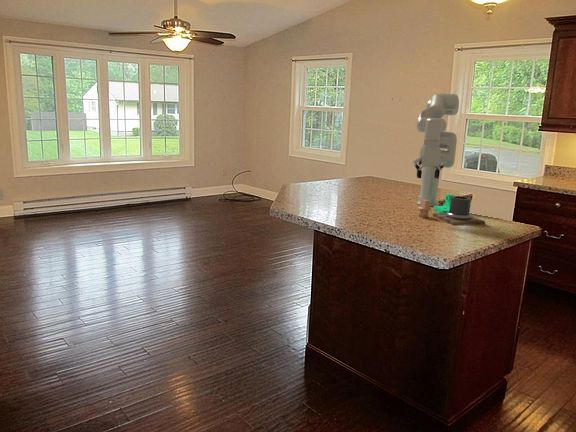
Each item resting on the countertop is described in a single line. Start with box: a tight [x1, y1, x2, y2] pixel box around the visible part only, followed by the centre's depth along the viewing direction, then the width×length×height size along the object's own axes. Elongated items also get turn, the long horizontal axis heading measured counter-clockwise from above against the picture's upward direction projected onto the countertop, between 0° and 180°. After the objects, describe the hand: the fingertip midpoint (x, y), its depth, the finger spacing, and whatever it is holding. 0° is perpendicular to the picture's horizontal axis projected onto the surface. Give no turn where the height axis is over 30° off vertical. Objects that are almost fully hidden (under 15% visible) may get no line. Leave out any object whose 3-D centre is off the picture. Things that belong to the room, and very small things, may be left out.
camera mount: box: [433, 193, 455, 213], centre depth 260 cm, size 12×8×10 cm, turn 10°
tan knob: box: [417, 199, 432, 219], centre depth 248 cm, size 6×6×9 cm
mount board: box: [432, 212, 486, 226], centre depth 245 cm, size 18×18×2 cm
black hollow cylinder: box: [446, 195, 473, 220], centre depth 243 cm, size 12×12×10 cm
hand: (427, 178), depth 244 cm, fingers open, 9 cm apart
